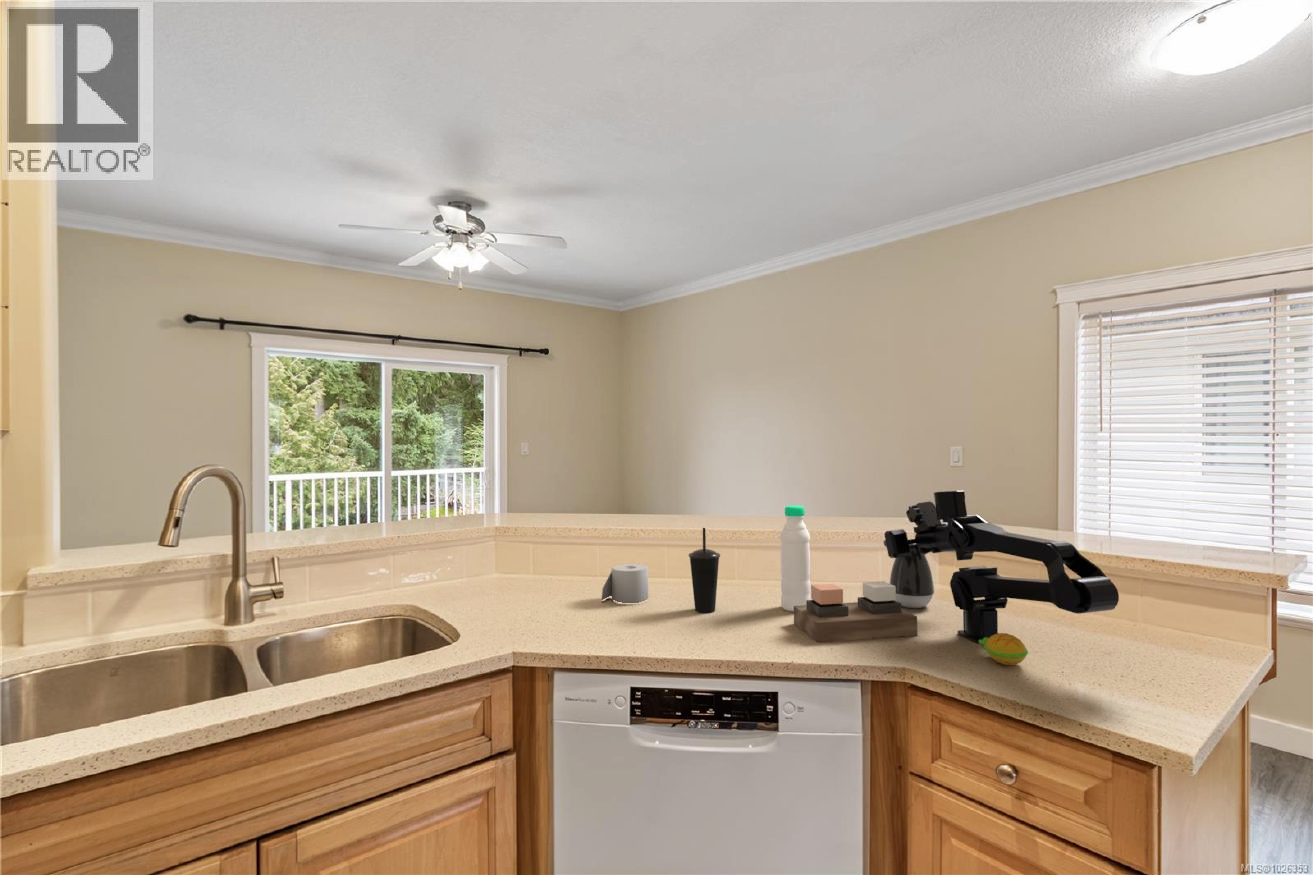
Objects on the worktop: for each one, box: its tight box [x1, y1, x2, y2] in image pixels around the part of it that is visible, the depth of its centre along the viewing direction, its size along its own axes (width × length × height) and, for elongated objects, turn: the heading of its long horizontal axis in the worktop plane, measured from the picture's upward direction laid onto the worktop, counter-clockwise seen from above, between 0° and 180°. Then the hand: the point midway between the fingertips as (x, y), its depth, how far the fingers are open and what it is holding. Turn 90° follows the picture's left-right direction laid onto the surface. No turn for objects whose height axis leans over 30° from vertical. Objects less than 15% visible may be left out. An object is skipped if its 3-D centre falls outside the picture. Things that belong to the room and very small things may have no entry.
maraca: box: [978, 632, 1029, 666], centre depth 115 cm, size 7×10×5 cm
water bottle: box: [780, 505, 812, 613], centre depth 152 cm, size 7×7×25 cm
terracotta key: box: [810, 583, 844, 605], centre depth 134 cm, size 5×5×3 cm
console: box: [793, 596, 918, 643], centre depth 135 cm, size 13×22×6 cm, turn 99°
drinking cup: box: [688, 527, 721, 614], centre depth 152 cm, size 8×8×20 cm
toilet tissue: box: [601, 563, 650, 603], centre depth 161 cm, size 9×13×9 cm
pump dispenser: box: [889, 544, 935, 609], centre depth 154 cm, size 10×10×15 cm
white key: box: [862, 580, 896, 602], centre depth 136 cm, size 5×5×3 cm
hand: (900, 540), depth 153 cm, fingers open, 9 cm apart
